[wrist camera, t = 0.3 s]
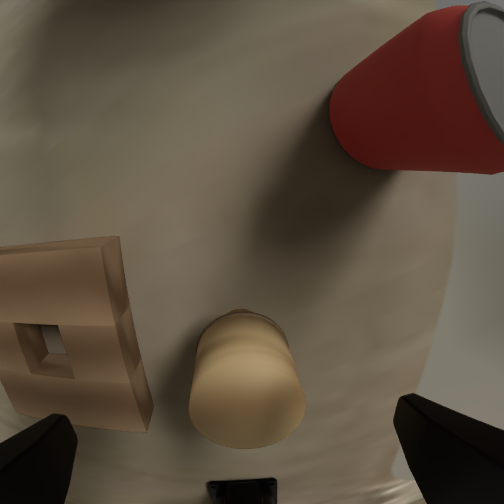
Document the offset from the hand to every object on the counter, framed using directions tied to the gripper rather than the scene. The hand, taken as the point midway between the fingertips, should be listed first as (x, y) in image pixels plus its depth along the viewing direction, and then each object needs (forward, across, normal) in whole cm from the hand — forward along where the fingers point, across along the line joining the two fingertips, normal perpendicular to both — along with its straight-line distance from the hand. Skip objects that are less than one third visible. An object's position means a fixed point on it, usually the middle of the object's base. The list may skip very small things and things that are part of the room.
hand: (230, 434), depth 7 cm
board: (+13, +12, +3) cm, 18 cm away
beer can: (+12, -10, -10) cm, 18 cm away
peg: (+13, 0, +3) cm, 13 cm away
